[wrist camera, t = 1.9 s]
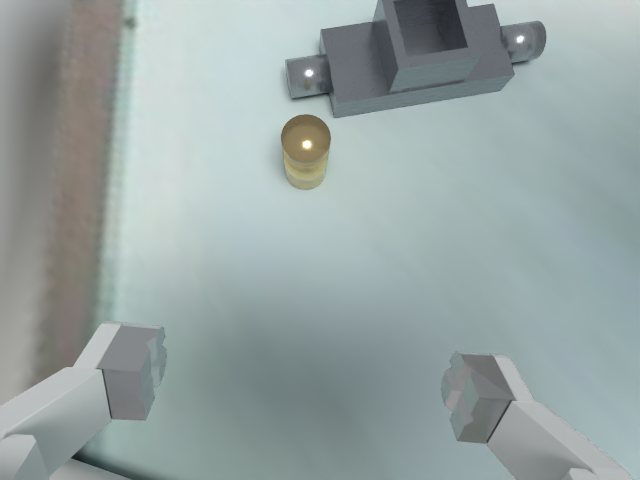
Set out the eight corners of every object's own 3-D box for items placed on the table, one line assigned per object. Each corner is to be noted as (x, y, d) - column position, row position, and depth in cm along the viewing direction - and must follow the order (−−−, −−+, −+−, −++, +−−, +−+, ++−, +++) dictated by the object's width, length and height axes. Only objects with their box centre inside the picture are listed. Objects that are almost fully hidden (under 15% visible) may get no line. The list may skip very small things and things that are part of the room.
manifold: (515, 18, 44) (554, -35, 38) (535, 84, 43) (579, 42, 36) (282, 54, 43) (278, 5, 36) (296, 124, 41) (295, 87, 34)
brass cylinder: (321, 148, 41) (325, 110, 33) (328, 186, 40) (335, 156, 33) (282, 155, 41) (277, 118, 33) (289, 193, 40) (286, 165, 32)
